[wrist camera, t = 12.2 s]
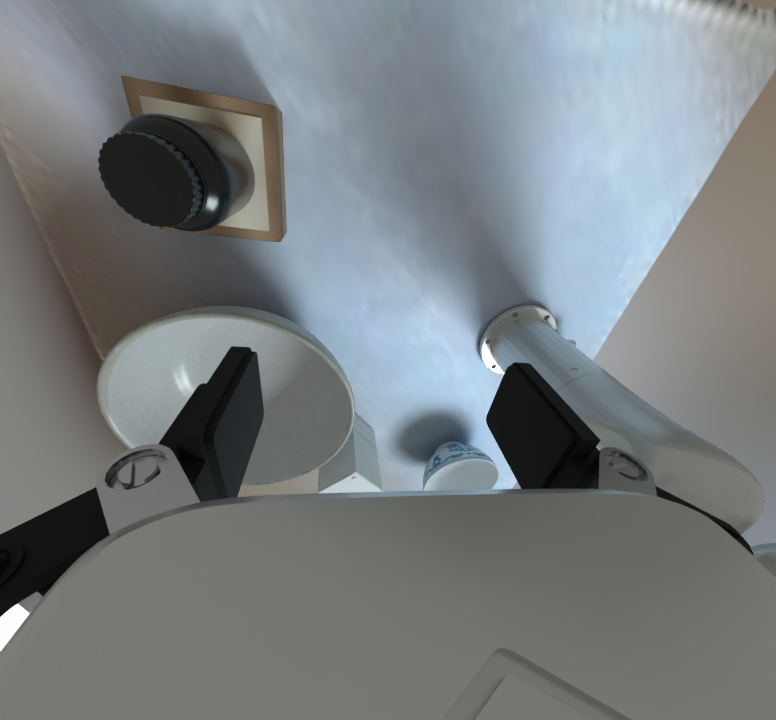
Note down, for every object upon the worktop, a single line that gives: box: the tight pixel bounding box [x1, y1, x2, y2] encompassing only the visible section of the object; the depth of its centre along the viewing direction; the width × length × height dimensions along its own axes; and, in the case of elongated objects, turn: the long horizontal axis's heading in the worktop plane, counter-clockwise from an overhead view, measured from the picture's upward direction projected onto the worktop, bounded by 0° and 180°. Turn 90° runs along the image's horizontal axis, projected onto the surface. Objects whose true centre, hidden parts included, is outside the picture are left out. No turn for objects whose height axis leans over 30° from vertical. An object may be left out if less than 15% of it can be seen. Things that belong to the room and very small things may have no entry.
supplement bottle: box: [98, 114, 255, 232], centre depth 22 cm, size 7×7×12 cm
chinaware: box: [423, 441, 499, 491], centre depth 60 cm, size 15×15×8 cm
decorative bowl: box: [97, 306, 355, 487], centre depth 39 cm, size 27×27×12 cm
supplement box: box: [318, 414, 383, 493], centre depth 50 cm, size 7×7×13 cm
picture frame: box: [121, 76, 287, 242], centre depth 29 cm, size 11×11×5 cm
